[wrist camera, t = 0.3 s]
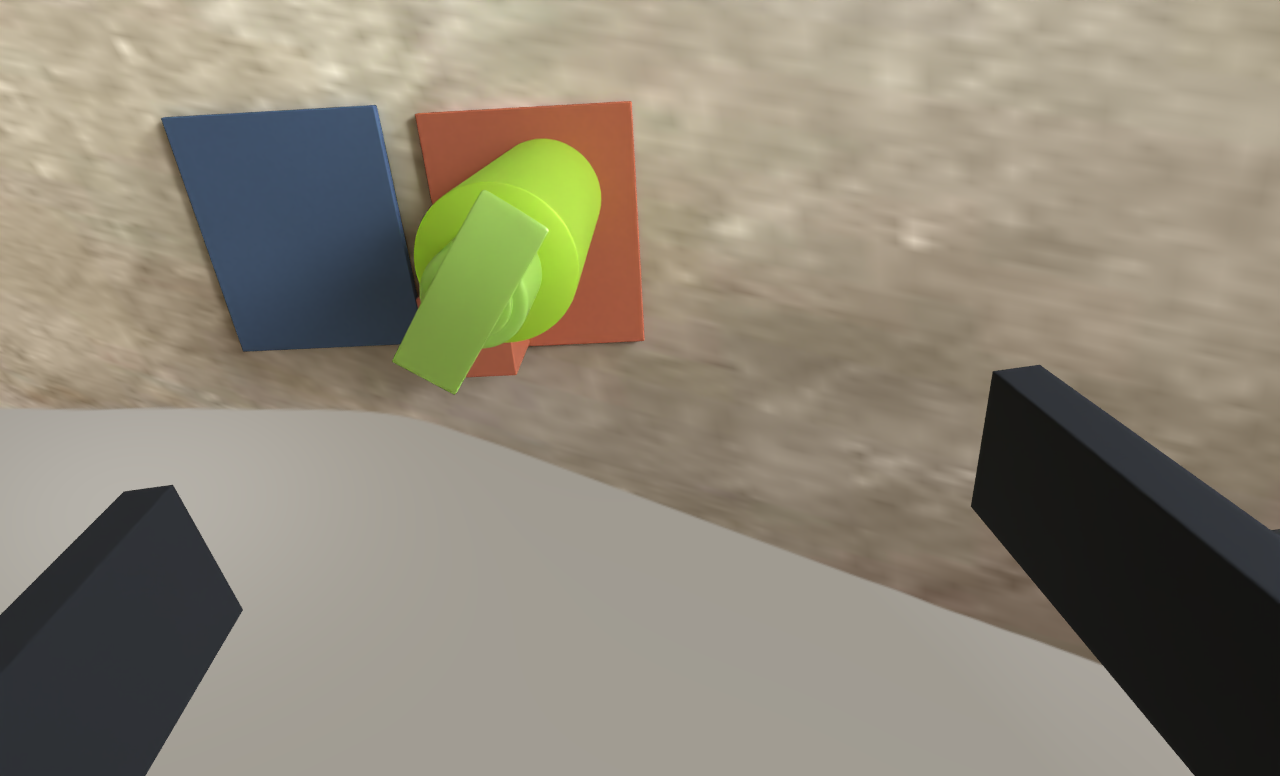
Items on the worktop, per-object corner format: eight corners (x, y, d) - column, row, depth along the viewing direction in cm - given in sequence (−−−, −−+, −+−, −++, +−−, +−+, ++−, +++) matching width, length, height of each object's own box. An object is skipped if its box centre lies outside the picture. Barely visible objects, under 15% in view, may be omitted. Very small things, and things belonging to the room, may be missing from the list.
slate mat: (166, 116, 34) (160, 117, 34) (376, 104, 34) (373, 105, 33) (247, 348, 40) (242, 351, 39) (427, 340, 39) (424, 343, 39)
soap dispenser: (632, 162, 34) (617, 277, 16) (566, 270, 37) (492, 472, 19) (533, 95, 33) (398, 143, 15) (472, 213, 36) (297, 373, 18)
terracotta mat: (417, 113, 34) (414, 114, 33) (631, 100, 33) (631, 101, 33) (461, 346, 40) (459, 349, 39) (644, 338, 39) (644, 341, 39)
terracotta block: (440, 272, 37) (415, 298, 33) (519, 268, 37) (504, 294, 33) (454, 346, 39) (432, 379, 35) (530, 342, 39) (516, 375, 35)
